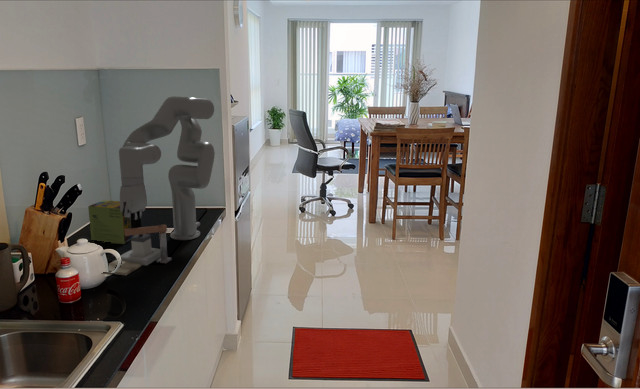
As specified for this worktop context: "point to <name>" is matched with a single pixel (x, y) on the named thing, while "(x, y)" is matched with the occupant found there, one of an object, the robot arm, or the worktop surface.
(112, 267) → the birch board
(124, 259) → the socket block
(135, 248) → the plug
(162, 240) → the clip post
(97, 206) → the protein box
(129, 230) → the clip
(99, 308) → the worktop surface
